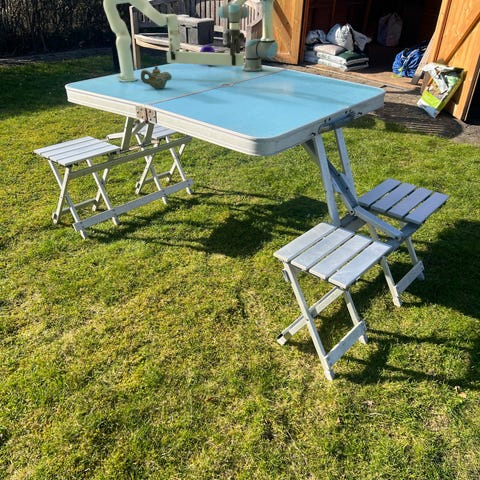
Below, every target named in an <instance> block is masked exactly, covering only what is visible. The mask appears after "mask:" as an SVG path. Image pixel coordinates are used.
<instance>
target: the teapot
mask: <svg viewBox="0 0 480 480" xmlns="http://www.w3.org/2000/svg"><path fill="white" fill-rule="evenodd" d="M146 75H147V76H148V78H146V77H145V76H146ZM172 79H173V78H172V74H171V73H170V72H168V71H163V72H161V69H160V68H159V67H158V66H157V65H154V68H153V69H152V72H151V71H149V70H147V69H142V70H141V72H140V80H141V83H143V84H144V85H145V84H146V85H149V86H150V87H151V88H154V89H155V90H162V89H163V88H165V87H166V85H167V82H168V81H170V80H172Z"/></svg>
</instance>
